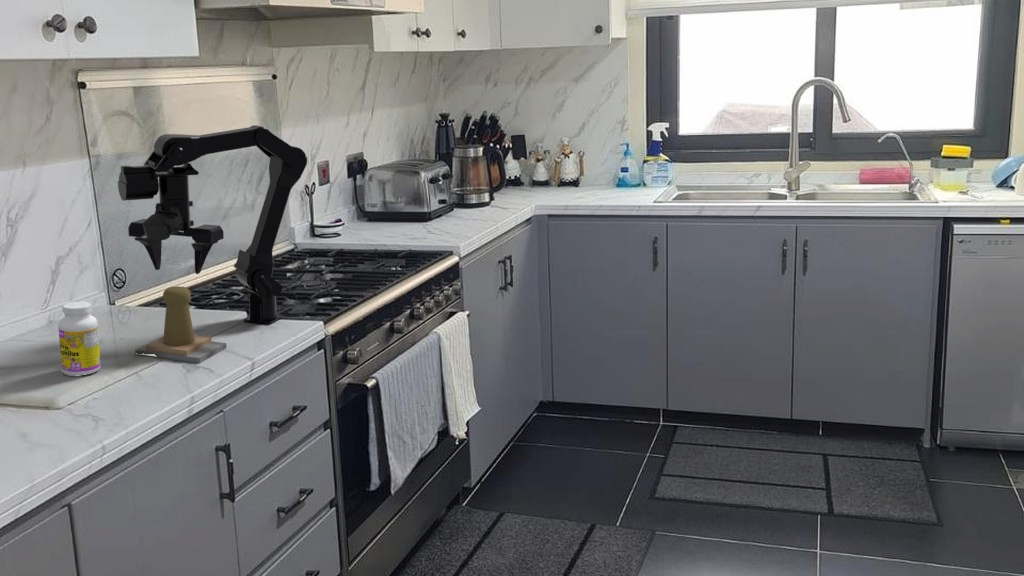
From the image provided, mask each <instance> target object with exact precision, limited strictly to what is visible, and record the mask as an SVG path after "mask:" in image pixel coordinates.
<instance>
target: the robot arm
mask: <svg viewBox="0 0 1024 576" xmlns="http://www.w3.org/2000/svg"><path fill="white" fill-rule="evenodd" d="M251 147H257V149H258V150H260V152H262V153H263V154H264V155H265V156H266V157H268V158H269V163H268V164H269V165H268V175H269V184H268V188H267V192H266V195H265V197H264V201H263V205H262V208H261V210H260V214H259V218H258V221H257V225H256V227H255V231H254V234H253V238H252V240H251V243H250V245H249V246H248V248H247V249H245V250H242V249H239V250H238V253H237V259H236V262H235V263H234V264H233V268H234V269H235V270H234V271H235V272H234V273H235V276H236V278H237V280H238V282H240V283H241V284H243V287H244V289H245V290H246V291H248V292H249V295H248V297H249V301H248V303H249V304H248V305H249V310H248V311H249V315H248V316H246V317H245V318H243V322H246V323H247V322H248V323H256V324H266V325H272V324H273V323H275V322H276V321H278V320H280V319H281V318H283V314H282V313H281V314H280V313H277V297H280V296H281V294H282V291H283V286H282V284H280V282H278V280H276V279H275V278H273V271H274V257H273V249H274V247H275V242H276V239H277V237H278V233H279V230H280V227H281V224H282V221H283V220H282V219H283V217H284V214H285V210H286V208H287V204H288V200H289V198H290V194H291V191H292V189H293V187H294V186H295V185H296V183H297V182H298V181H299V180H300V179H301V178H302V176H303V174H304V172H305V169H306V167H307V164H308V157H307V155H306V152H305V151H304V150H303V149H302V148H300V147H298V146H295V145H294V146H293V145H291V144H289V143H287V142H286V141H284V139H281V138H280V137H278V136H277V135H275V134H274V133H272V131H270V130H269V129H268V128H267V127H265V126H260V125H257V124H256V125H255V124H254V125H251V126H248V127H243V128H237V129H236V128H235V129H230V130H225V131H218V132H212V133H211V132H210V133H206V134H196V135H195V134H182V133H181V134H180V133H179V134H177V133H172V134H171V133H166V134H162V135H160V136H158V137H157V139H156V140H155V142H154V144H153V151H152V152H151V153H150V155H149V157H148V158H147V159H146V160H145V162H144V164H143V165H135V166H134V165H133V166H132V165H131V166H130V165H121V166H120V173H119V176H118V180H117V188H118V193H119V197H120V198H121V200H122V201H138V200H140V201H141V200H153V199H154V198H155V196H157V195H158V193H159V195H158V196H159V202H156V204H155V210H154V211H155V212H154V213H153V214H151V215H150V216H149V217H148V218H141V219H137V220H134V221H131V222H130V223H129V225H128V227H127V233H128V234H127V235H128V237H133V238H134V240H135V241H137V242H139V243H140V244H142V245H143V246H144V248H145V250H146V252H147V253H148V256H149V258H150V261H151V262H152V264H153V267H154V269H155V270H156V271H159V270H160V269H161V264H162V244H163V243H162V242H163V241H166V240H168V239H169V238H170V237H171V236H179V237H190V238H192V240H193V241H194V242H193V243H191V244H190V245H191V247H192V249H193V250H194V271H195V274H196V275H199V274H201V271H202V270H203V267H204V264H205V263H206V259H207V257H208V255H209V253H210V251H211V249H212V247H213V245H214V244H218V242H219V241H221V240H223V239H224V230H223V227H221V225H216V224H215V225H214V224H202V225H200V226H199V225H198V226H196V227H193V226H194V224H195V223H194V220H192V219H191V215H190V214H191V212H190V210H191V209H190V207H194V203H193V200H190V189H189V188H190V187H189V176H198V175H199V173H200V172H199V170H197V169H196V168H195V167H193V165H192V164H191V163H192V162H194V161H196V160H199V158H201V157H203V156H207V155H211V154H216V153H222V152H228V151H235V150H240V149H246V148H251Z"/></svg>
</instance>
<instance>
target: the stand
mask: <svg viewBox="0 0 1024 576" xmlns="http://www.w3.org/2000/svg"><path fill="white" fill-rule="evenodd" d="M163 338H164V335H163V336H161V337H159V338H156V339H154V340H153V341H150V342H148V343H147V344H145V345H143V346H141V347H138V348H136V349H135V353H134V354H136V353H137V354H143V353H144V354H155V355H156V356H157V358H158V359H165V360H173V361H174V360H175V361H180V362H190V363H197V364H201V363H203V362H204V361H206V360H208V359H209V358H211V357H213V356H215V355H217V354H218V353H220V352H222V351H223V350H225V349H227V343H226V342H219V341H213V340H212V337H210V336H202V335H195V334H194V338H195V342H193V343H191V344H188V345H183V346H170V345H166V344H164V343H163ZM157 358H156V359H157Z"/></svg>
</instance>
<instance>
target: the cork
mask: <svg viewBox="0 0 1024 576" xmlns="http://www.w3.org/2000/svg"><path fill="white" fill-rule="evenodd" d="M191 295H192V294H191V291H190V290H189V288H188V287H185V286H170V287H167V288H166V289H164V291H163V293H162V299H163V303H165V305H166V308H165V318H164V329H163V336H164V338H163V343H164V344H166V345H170V346H183V345H188V344H191V343H193V342H195V338H194V335H195V333H194V328H193V322H192V317H191V312H190V307H189V303H190V302H191V299H192V296H191Z"/></svg>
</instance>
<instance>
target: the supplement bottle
mask: <svg viewBox="0 0 1024 576" xmlns="http://www.w3.org/2000/svg"><path fill="white" fill-rule="evenodd" d="M62 312H63V314H64V317H62V318H61V319H60V320H59V322H58V325H57V326H58V341H59V353H60V365H61V366H60V368H61V373H63V374H64V375H65V376H69V377H77V376H76V375H84V374H89V373H93V372H95V371H97V370H99V371H100V369H101V354H100V353H101V352H100V339H99V324H98V323H99V322H98V320H97V318H96V317H95V316H93V315H92V314H91V312H92V305H91V303H90V302H88V301H70V302H67V303H65V304H63V305H62ZM97 372H98V371H97ZM93 374H94V373H93Z"/></svg>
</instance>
